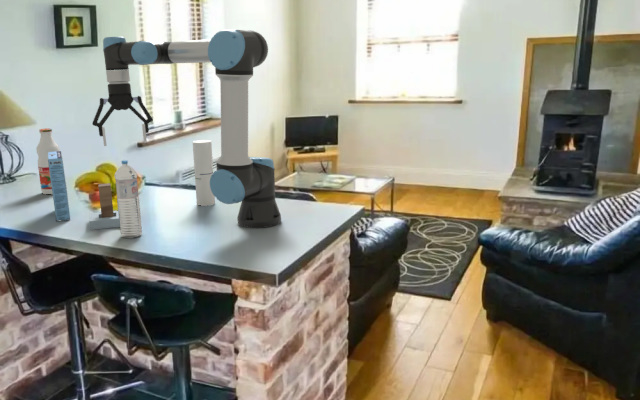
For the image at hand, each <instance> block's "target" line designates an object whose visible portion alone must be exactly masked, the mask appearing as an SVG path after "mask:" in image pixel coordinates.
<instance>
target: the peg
mask: <svg viewBox="0 0 640 400" xmlns="http://www.w3.org/2000/svg"><path fill="white" fill-rule="evenodd" d="M97 187H98V193H99V194H98V196H99V204H100V212H101V215H102V218H106V217H114V213H113V211H114V205H113V197H112V186H111V183H109V182H108V183H100V184H98V186H97Z"/></svg>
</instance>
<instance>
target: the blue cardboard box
mask: <svg viewBox="0 0 640 400" xmlns="http://www.w3.org/2000/svg"><path fill="white" fill-rule="evenodd" d="M62 154H63V153H62V151H61V150H59V151H55V152H48V164H49V172H50V179H51V187H52V194H51V195H52V200H53V207H54V214H55V221H56V220H65V221H70V220H71V214H70V213H71V212H70V205H69V196H68V195H69V194H68V190H67V189H68V188H67V182H66V174H65V169H64V168H65V167H64V162H63V161H64V160H63V156H62ZM68 219H69V220H68Z"/></svg>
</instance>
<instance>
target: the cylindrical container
mask: <svg viewBox="0 0 640 400" xmlns="http://www.w3.org/2000/svg"><path fill="white" fill-rule="evenodd" d="M212 145H213V144H212V140H211V139H209V140H207V139H200V140H199V139H198V140H193V141H192V152H193V154H192V155H193V166H194V169H193V170H194V180H195V181H194V182H195V196H196V198H195V199H196V206H198V205H201V206H200V207H208V206H207V205H211V206H214V205H215V204H216V197H215V196H214V195H213V193H212V191H211V189H210V178H211V175H213V173H214V163H213V149H212V148H213V147H212ZM213 204H214V205H213Z"/></svg>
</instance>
